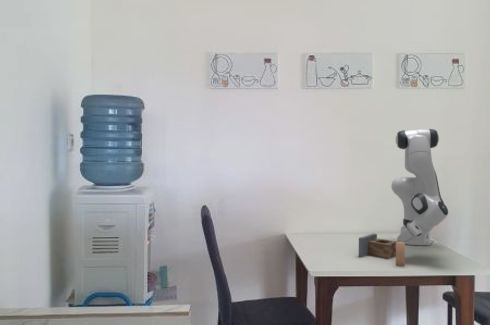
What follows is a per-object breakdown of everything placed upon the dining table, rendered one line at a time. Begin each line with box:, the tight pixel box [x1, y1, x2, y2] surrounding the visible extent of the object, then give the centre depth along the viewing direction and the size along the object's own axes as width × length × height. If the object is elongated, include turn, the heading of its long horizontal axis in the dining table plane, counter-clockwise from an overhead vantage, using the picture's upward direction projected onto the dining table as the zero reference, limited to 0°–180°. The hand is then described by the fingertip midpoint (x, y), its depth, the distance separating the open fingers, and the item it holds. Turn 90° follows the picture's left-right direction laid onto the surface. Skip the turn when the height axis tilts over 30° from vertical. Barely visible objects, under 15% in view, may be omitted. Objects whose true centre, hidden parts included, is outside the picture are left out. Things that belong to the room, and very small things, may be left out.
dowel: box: [395, 241, 406, 267], centre depth 207 cm, size 4×4×11 cm
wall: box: [358, 233, 378, 258], centre depth 227 cm, size 16×2×10 cm, turn 137°
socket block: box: [367, 237, 398, 260], centre depth 226 cm, size 11×11×7 cm
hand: (400, 243), depth 223 cm, fingers closed
